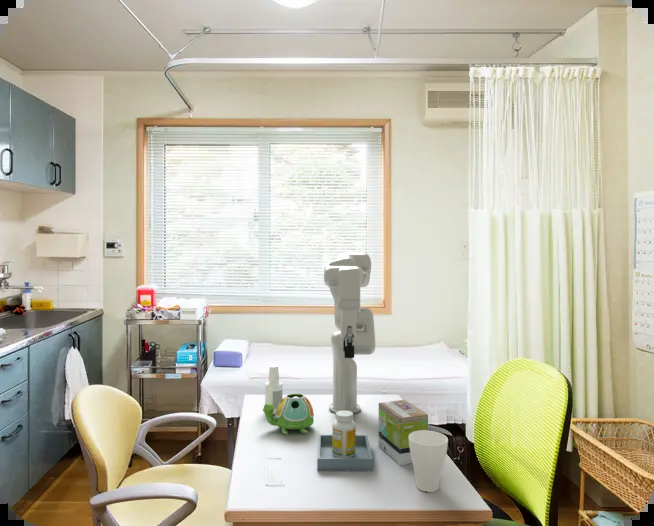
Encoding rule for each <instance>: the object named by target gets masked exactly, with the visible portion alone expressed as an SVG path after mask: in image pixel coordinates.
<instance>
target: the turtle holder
mask: <svg viewBox="0 0 654 526" xmlns="http://www.w3.org/2000/svg"><path fill="white" fill-rule="evenodd" d="M273 410H274V407H273V405H272V404H271V403H268V404H267V403H266V404H265V403H264V405H263V408H262V411H263V413H264V414H265V418H266V422H267V423H268V424H269V425H271V426H276V427H279V428H281V433H282V434H283V435H289V431H288V430H299V433H301V434H308V433H309V431H308V429H307V428H308V427H311V426H312V425H314V420H315V419H314V416H315V414H314V408H313V405H312V403H311V401H310V400H309V399H308V398H307V397H306V394H304V393H288V394H285V396H284V397H282V401H281V402H280V403H279V405H278V408H277V412H276V414H275V416H274V414H273ZM287 429H288V430H287Z"/></svg>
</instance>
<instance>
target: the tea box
mask: <svg viewBox="0 0 654 526" xmlns="http://www.w3.org/2000/svg"><path fill="white" fill-rule="evenodd" d="M420 430H428V431H429V414H428V413H426V412H425V411H423V410H422V409H419V408H418V407H417V406H415V405H414V404H412V403H410V402H409V401H407V400H406V399H399V400H391V401H384V402H378V447H380V448H381V449H382V450H383V451H384V452H385V453H386V454H387V455H389V457H391V459H393V460H394V461H395V463H397V464H398V466H404V465H403V464H406V465H409V463H412V459H411V454H410V448H409V437H408V436H409V434H410V433H412V432H415V431H420ZM412 464H413V463H412Z"/></svg>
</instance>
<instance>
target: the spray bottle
mask: <svg viewBox="0 0 654 526" xmlns="http://www.w3.org/2000/svg"><path fill="white" fill-rule="evenodd" d="M279 374H280V371H279V365H278V364H276V365H275V364H272V365H270V366H269V371H268V381H266V382H265V383H264V405H265V404H266V403H267V404H268V403H271V404H272V405H273V407H274V410H273V415H276V412H277V408H278V405H279V403H280V402H281V401H282V399H283V382H282V381H280V375H279Z"/></svg>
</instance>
